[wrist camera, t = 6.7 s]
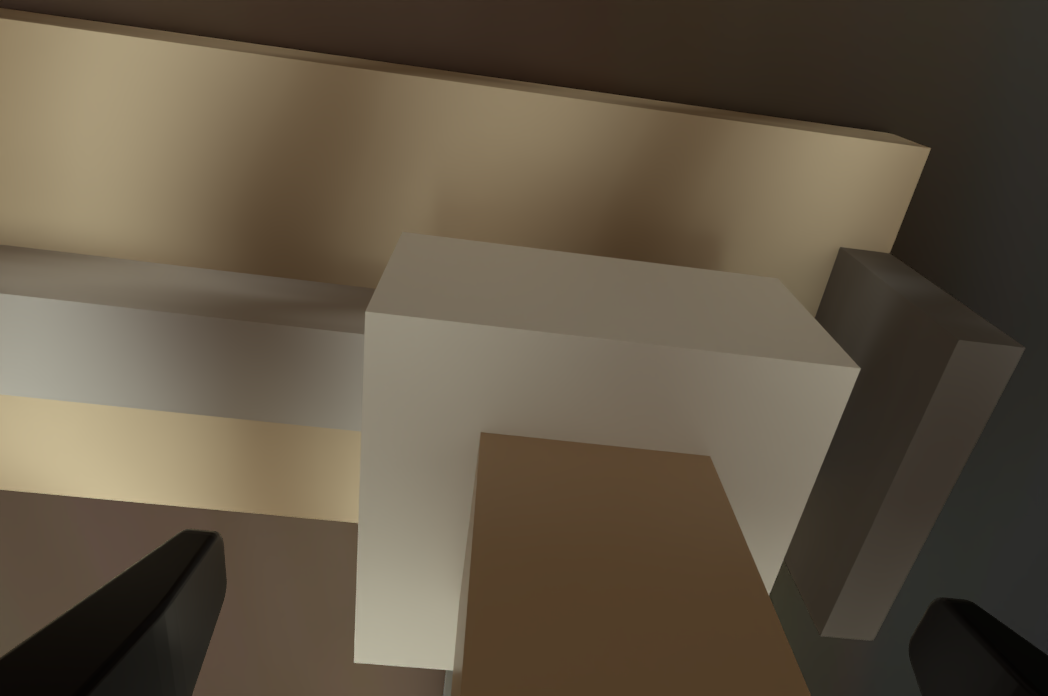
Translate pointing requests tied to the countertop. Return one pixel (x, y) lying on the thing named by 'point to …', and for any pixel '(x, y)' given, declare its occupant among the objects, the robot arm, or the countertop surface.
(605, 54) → the countertop surface
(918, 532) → the rail base
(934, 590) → the countertop surface
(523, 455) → the carriage
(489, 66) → the countertop surface
